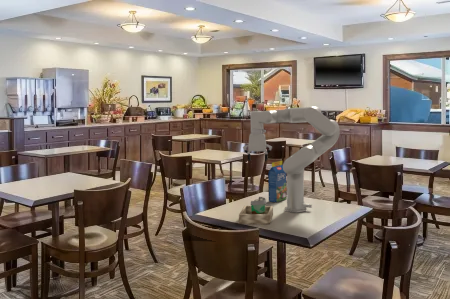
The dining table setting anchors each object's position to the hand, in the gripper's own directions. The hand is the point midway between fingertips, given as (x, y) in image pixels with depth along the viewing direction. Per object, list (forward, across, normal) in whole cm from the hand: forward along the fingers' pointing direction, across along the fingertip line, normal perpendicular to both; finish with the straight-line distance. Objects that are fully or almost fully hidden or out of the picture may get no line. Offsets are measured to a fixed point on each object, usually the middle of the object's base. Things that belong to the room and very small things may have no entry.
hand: (257, 160), depth 257 cm
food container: (+27, -4, +27) cm, 38 cm away
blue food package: (+28, -11, -20) cm, 37 cm away
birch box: (+28, -2, +26) cm, 39 cm away
